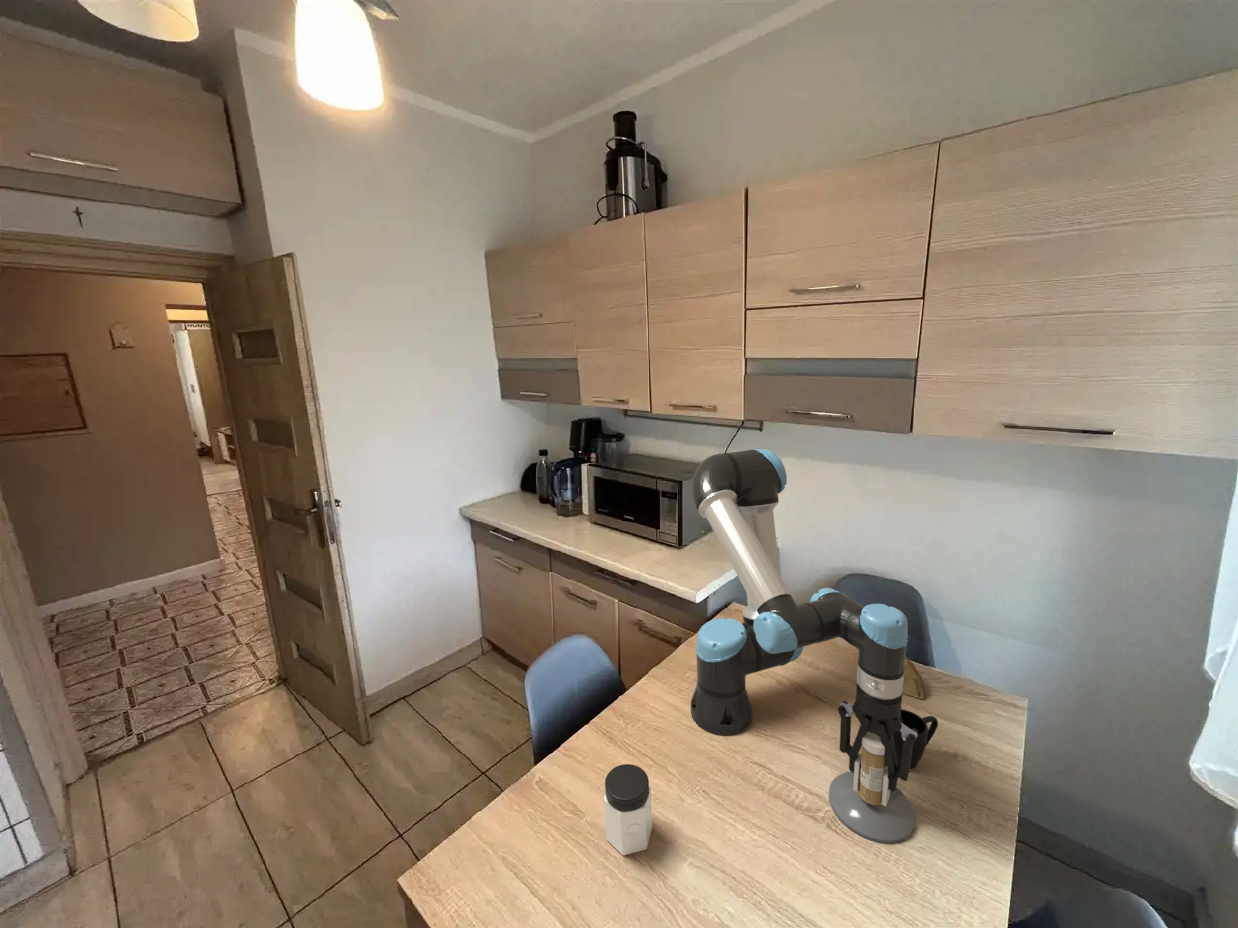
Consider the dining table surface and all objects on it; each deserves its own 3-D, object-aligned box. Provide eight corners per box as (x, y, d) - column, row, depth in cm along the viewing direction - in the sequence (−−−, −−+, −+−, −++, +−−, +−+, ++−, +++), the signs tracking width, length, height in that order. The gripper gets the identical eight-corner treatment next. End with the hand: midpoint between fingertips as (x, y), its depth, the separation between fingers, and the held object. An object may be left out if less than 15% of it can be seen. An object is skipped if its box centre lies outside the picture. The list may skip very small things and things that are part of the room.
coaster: (817, 811, 98) (817, 807, 98) (843, 763, 109) (843, 759, 109) (903, 859, 88) (903, 855, 88) (922, 801, 99) (923, 797, 99)
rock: (939, 688, 127) (908, 661, 136) (928, 671, 124) (897, 645, 133) (906, 716, 127) (877, 687, 136) (895, 700, 124) (865, 671, 133)
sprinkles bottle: (855, 785, 101) (859, 727, 98) (880, 788, 100) (885, 729, 97) (861, 804, 97) (865, 744, 94) (887, 808, 96) (892, 747, 93)
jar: (611, 860, 91) (607, 805, 88) (602, 820, 99) (598, 769, 96) (658, 847, 93) (656, 793, 90) (646, 809, 100) (644, 758, 98)
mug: (949, 766, 107) (953, 728, 105) (899, 778, 105) (902, 739, 103) (919, 738, 115) (922, 702, 113) (872, 748, 113) (875, 711, 111)
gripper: (823, 679, 96) (818, 782, 101) (929, 720, 85) (917, 833, 90) (837, 660, 101) (831, 759, 107) (938, 696, 90) (927, 804, 95)
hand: (871, 793), depth 98 cm, fingers closed on sprinkles bottle, 4 cm apart
